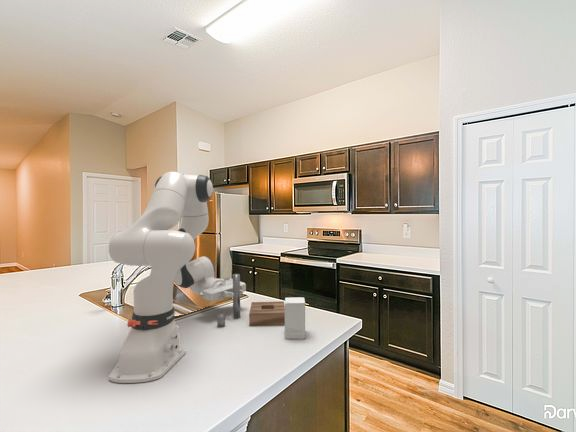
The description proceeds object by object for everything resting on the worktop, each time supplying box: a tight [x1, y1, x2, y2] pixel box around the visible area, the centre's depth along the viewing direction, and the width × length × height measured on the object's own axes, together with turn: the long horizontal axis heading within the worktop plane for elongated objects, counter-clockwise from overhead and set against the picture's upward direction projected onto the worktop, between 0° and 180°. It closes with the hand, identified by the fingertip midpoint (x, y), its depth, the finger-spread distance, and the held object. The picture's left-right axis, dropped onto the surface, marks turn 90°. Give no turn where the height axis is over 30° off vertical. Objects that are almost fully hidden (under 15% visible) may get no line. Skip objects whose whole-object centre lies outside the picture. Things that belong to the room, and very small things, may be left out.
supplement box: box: [284, 296, 306, 340], centre depth 108 cm, size 7×7×13 cm
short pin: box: [216, 312, 226, 328], centre depth 116 cm, size 3×3×4 cm
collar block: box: [248, 300, 285, 327], centre depth 123 cm, size 14×14×5 cm
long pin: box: [232, 273, 241, 319], centre depth 125 cm, size 3×3×18 cm
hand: (238, 293), depth 125 cm, fingers closed on long pin, 3 cm apart
